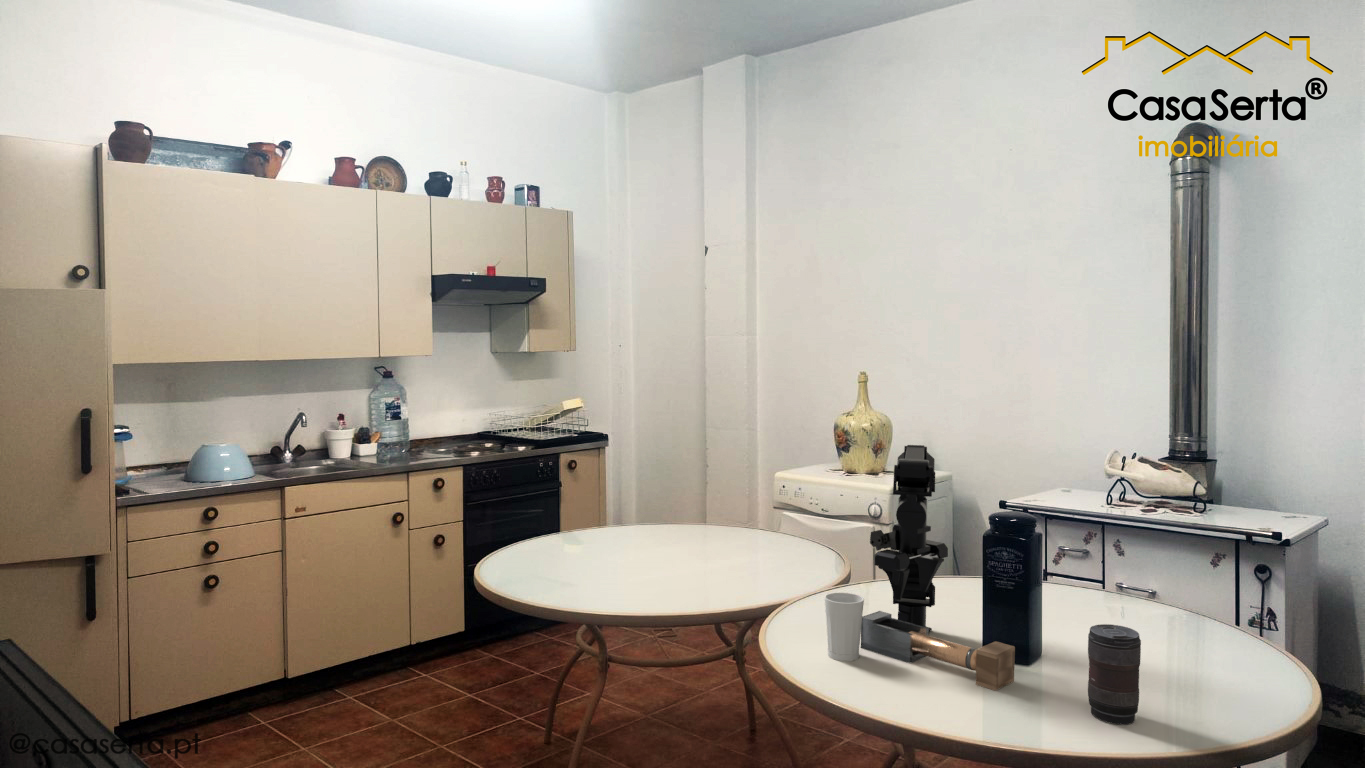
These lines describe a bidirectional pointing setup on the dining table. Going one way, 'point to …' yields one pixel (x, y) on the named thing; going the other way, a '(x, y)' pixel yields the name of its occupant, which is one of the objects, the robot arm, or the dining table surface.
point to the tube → (944, 650)
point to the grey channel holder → (890, 636)
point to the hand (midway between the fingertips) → (910, 595)
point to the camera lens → (1114, 673)
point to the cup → (843, 625)
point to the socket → (995, 665)
